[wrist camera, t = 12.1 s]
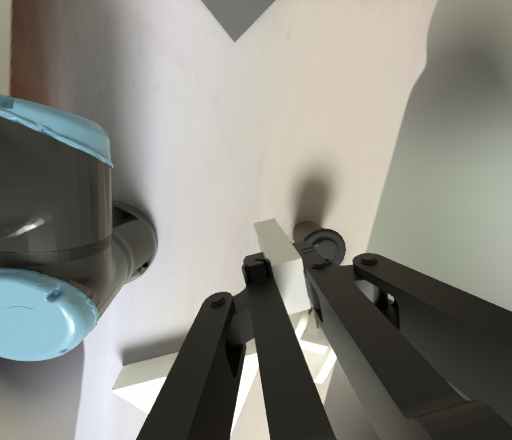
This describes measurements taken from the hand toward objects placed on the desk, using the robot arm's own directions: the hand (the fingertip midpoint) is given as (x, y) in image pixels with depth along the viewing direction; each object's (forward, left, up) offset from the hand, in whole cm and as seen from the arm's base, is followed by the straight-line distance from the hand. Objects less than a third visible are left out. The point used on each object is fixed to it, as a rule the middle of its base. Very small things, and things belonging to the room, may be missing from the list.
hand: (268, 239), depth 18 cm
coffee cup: (+10, -13, -30) cm, 34 cm away
